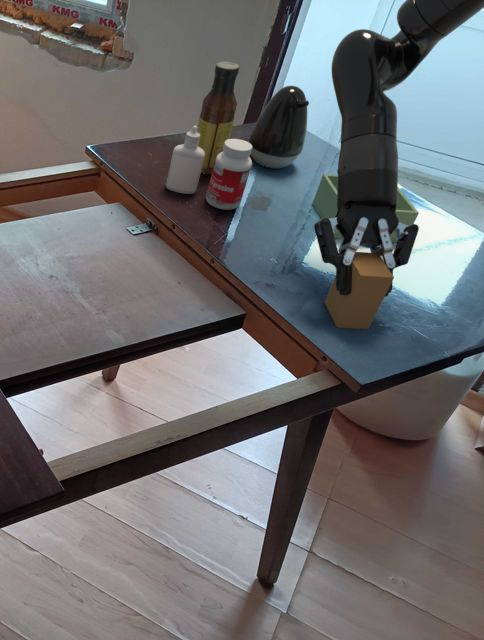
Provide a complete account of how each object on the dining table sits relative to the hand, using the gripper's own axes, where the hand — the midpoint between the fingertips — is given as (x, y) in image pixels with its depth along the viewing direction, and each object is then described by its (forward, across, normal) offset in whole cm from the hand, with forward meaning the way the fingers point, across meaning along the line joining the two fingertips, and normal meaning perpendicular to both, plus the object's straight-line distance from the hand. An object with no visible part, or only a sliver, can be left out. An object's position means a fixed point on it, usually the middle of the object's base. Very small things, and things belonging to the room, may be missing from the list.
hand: (363, 295), depth 95 cm
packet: (+2, 0, +5) cm, 6 cm away
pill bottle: (-20, -12, +28) cm, 36 cm away
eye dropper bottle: (-23, -19, +30) cm, 43 cm away
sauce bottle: (-29, -13, +37) cm, 49 cm away
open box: (-17, +11, +25) cm, 32 cm away
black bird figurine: (-33, +1, +40) cm, 52 cm away
